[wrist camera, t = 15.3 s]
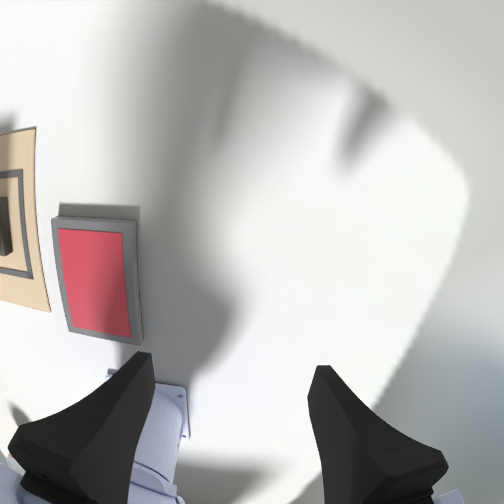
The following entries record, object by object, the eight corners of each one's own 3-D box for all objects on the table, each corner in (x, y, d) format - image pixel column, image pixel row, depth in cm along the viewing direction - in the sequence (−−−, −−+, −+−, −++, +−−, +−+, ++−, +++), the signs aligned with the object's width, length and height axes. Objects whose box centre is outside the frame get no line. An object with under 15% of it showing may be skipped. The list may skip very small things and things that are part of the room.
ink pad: (143, 338, 23) (139, 345, 22) (73, 325, 22) (68, 331, 21) (136, 220, 20) (130, 224, 19) (57, 215, 19) (50, 219, 18)
